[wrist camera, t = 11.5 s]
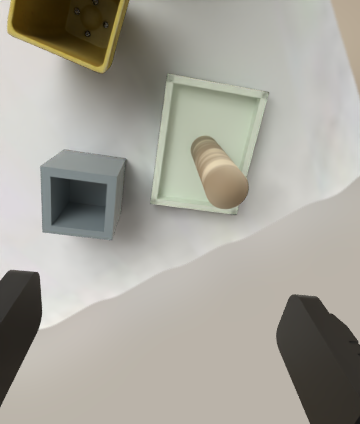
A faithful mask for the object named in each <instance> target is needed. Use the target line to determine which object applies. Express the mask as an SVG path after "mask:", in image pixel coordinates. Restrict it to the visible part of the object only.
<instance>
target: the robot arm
mask: <svg viewBox="0 0 360 424" xmlns="http://www.w3.org/2000/svg"><path fill="white" fill-rule="evenodd" d="M41 317H42V302H41V288H40V276H39V273H38V272H30V271H18V270H10V271H8V272H7V273H6V274H5V276H4V277H3V278H2V279H1V281H0V406H1V404H2V402H3V400H4V398H5V396H6V394H7V392H8V390H9V388H10V386H11V384H12V382H13V380H14V378H15V376H16V374H17V372H18V370H19V368H20V366H21V364H22V362H23V360H24V358H25V356H26V354H27V352H28V350H29V348H30V346H31V344H32V342H33V340H34V337H35V336H36V334H37V331H38V329H39V326H40V322H41ZM276 338H277V345H278V348H279V351H280V353H281V356H282V358H283V360H284V363H285V365H286V367H287V370H288V372H289V375H290V377H291V379H292V382H293V384H294V386H295V389H296V391H297V394H298V396H299V398H300V401H301V403H302V406H303V408H304V410H305V413H306V415H307V417H308V419H309V422H310V424H360V345H359V344H358V340H357V339H356V338H355V336H354V335H353V333H352V332H351V331H350V329H349V328H348V327H347V326H346V325H345V324H344V323H343V322H341V321H340V320H339V319H338V318H337V317H336V316H334V315H333V314H329V312H328V311H327V309H326V308H325V306H324V305H323V304H322V302H321V301H320V300H319V298H318V297H316V296H306V295H291V296H290V298H289V299H288V302H287V304H286V307H285V310H284V312H283V315H282V317H281V320H280V322H279V325H278V328H277V333H276Z"/></svg>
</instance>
